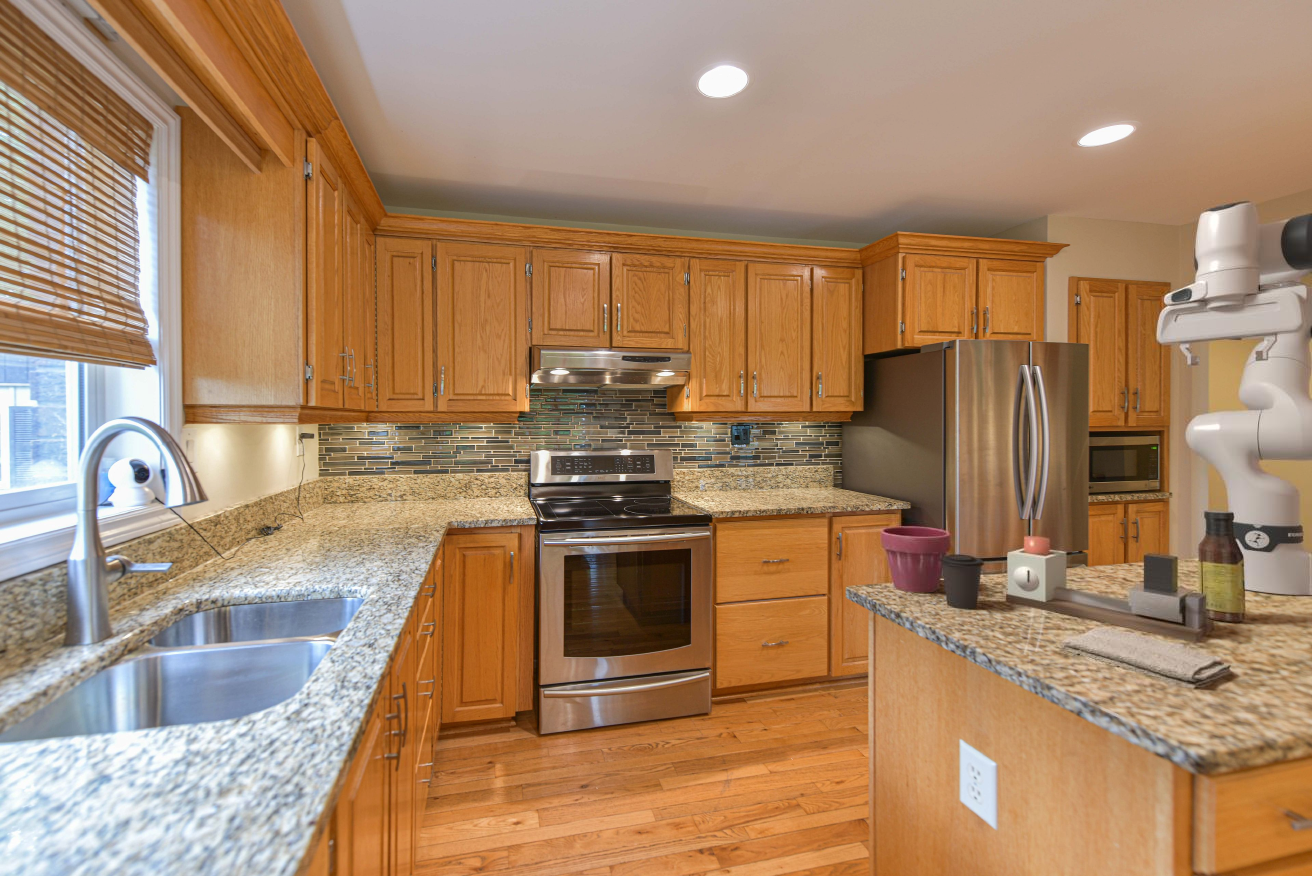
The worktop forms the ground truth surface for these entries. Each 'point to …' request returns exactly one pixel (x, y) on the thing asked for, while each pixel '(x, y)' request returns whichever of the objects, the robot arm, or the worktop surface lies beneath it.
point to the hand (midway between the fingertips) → (1226, 363)
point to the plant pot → (915, 556)
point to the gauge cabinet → (1035, 574)
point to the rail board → (1125, 613)
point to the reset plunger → (1037, 545)
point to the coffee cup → (961, 580)
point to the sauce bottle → (1221, 569)
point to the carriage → (1159, 590)
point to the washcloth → (1149, 656)
